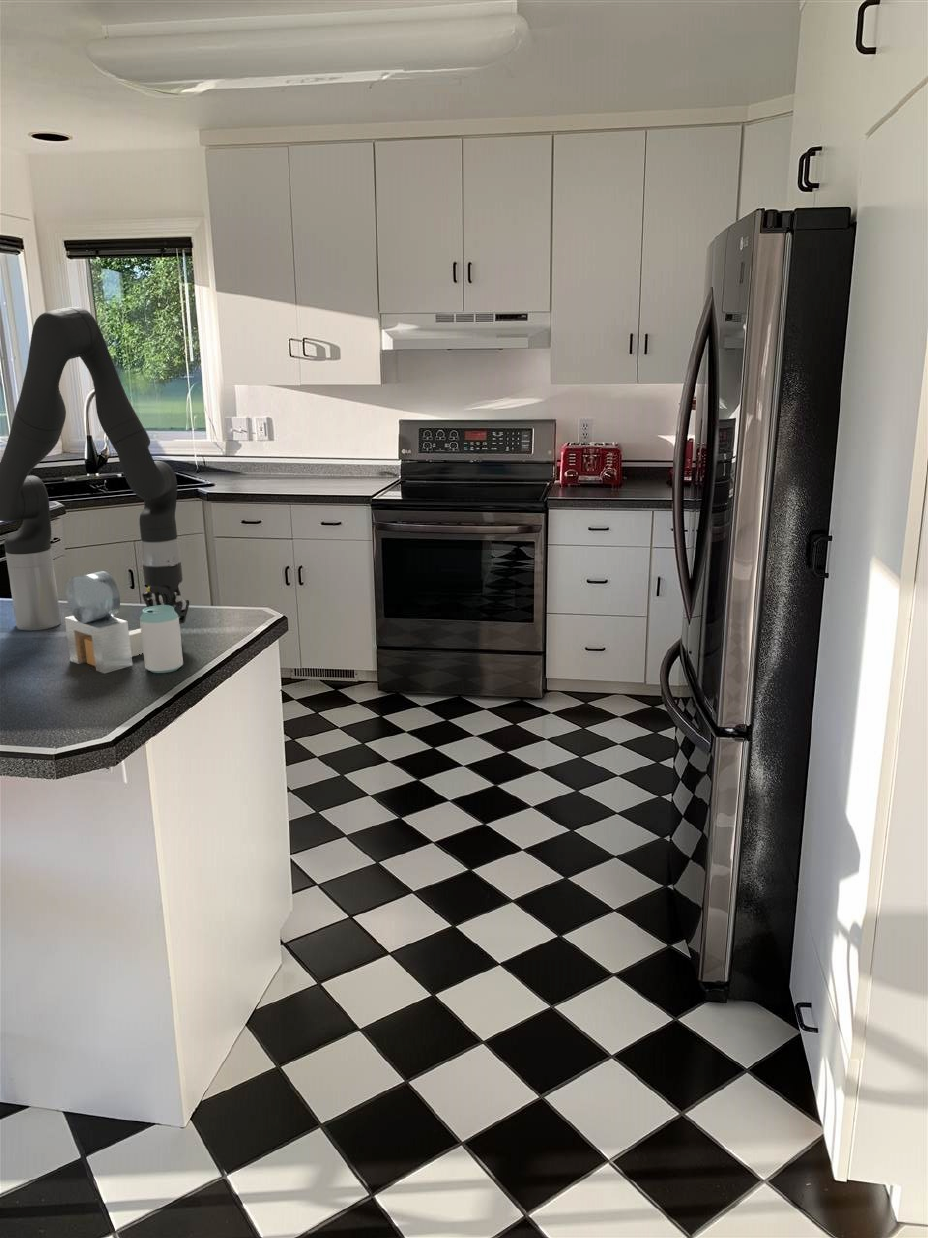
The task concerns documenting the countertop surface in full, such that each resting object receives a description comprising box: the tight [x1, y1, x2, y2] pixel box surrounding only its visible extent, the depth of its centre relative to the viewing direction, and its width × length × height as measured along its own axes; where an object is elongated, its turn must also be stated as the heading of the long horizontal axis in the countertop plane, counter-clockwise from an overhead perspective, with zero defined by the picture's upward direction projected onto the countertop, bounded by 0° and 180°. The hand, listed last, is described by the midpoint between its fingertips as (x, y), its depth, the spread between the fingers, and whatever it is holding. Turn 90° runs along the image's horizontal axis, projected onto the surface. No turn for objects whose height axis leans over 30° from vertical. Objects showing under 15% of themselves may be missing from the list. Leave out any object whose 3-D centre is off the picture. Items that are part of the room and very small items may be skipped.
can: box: [139, 605, 184, 674], centre depth 185 cm, size 7×7×12 cm
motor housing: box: [64, 570, 133, 674], centre depth 188 cm, size 12×6×18 cm, turn 50°
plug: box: [84, 624, 182, 667], centre depth 196 cm, size 4×20×5 cm, turn 141°
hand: (170, 641), depth 202 cm, fingers closed on plug, 2 cm apart
